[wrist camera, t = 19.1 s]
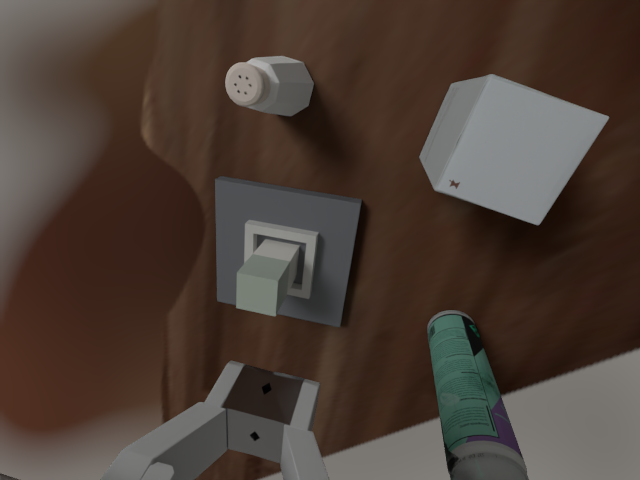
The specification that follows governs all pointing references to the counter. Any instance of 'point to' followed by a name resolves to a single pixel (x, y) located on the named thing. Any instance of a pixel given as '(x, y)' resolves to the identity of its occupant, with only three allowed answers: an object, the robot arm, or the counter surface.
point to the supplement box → (507, 146)
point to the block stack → (267, 277)
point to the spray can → (471, 404)
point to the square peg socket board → (289, 227)
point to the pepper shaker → (270, 85)
